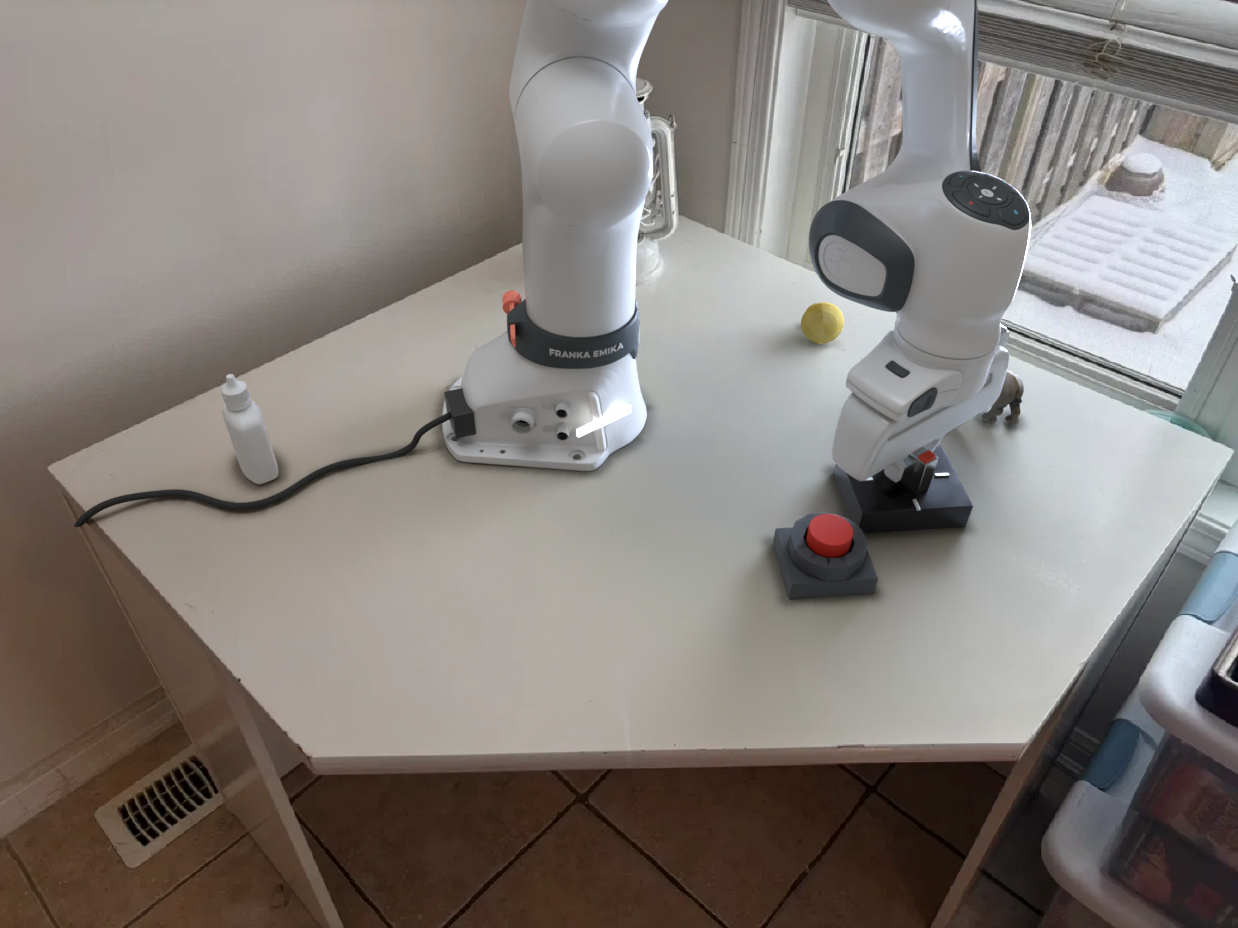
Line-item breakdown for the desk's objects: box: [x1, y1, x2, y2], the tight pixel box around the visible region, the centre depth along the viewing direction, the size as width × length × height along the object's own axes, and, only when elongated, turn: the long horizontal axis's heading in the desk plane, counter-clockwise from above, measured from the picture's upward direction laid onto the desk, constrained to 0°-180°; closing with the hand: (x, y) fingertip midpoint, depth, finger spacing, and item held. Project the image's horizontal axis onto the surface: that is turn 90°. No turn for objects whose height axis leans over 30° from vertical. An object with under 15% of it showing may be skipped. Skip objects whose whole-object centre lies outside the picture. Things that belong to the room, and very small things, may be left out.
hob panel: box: [833, 444, 974, 535], centre depth 98 cm, size 11×9×3 cm
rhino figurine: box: [981, 369, 1025, 426], centre depth 110 cm, size 4×14×6 cm, turn 33°
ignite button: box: [806, 513, 853, 558], centre depth 89 cm, size 4×4×2 cm
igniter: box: [772, 512, 879, 600], centre depth 91 cm, size 8×7×4 cm
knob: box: [800, 301, 845, 345], centre depth 118 cm, size 5×5×5 cm
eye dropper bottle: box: [220, 373, 279, 485], centre depth 97 cm, size 4×6×12 cm
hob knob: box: [883, 447, 938, 495], centre depth 95 cm, size 5×2×4 cm, turn 36°
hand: (905, 469), depth 96 cm, fingers closed on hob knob, 2 cm apart
